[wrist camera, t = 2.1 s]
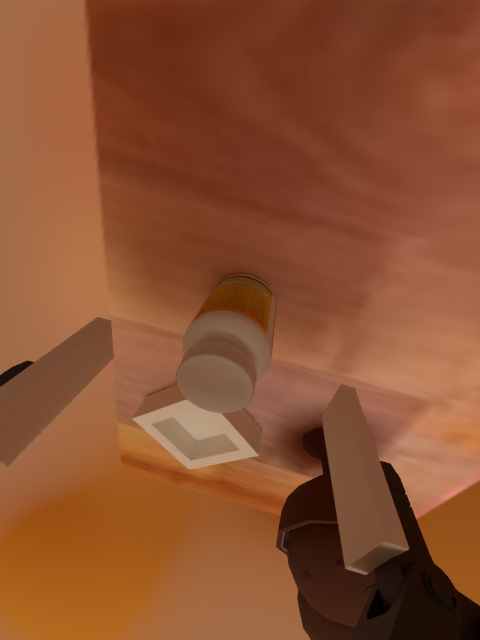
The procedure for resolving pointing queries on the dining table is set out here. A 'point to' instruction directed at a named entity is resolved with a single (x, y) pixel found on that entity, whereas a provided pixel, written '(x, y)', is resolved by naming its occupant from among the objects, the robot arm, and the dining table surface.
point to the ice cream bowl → (320, 555)
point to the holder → (198, 430)
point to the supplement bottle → (228, 345)
